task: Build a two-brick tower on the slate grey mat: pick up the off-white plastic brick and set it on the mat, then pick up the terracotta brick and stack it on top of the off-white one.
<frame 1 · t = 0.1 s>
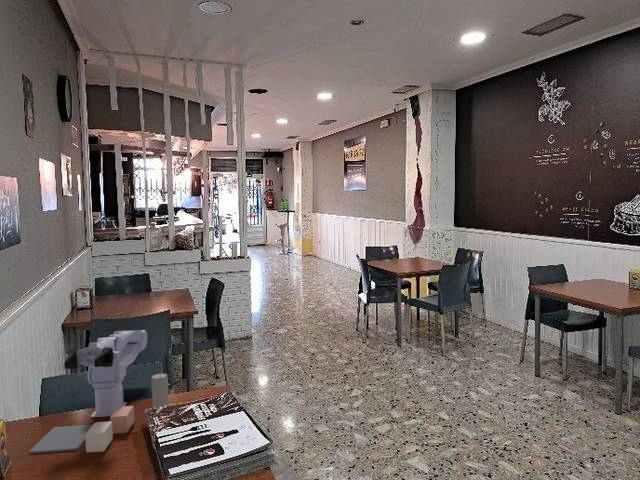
hand: (80, 364, 126), 22 cm above the table, tool horizontal, fingers open, 7 cm apart
base mat: (65, 439, 129), on the table
white brick: (100, 445, 125), on the table
beverage can: (161, 414, 144), on the table
terracotta brick: (123, 427, 135), on the table
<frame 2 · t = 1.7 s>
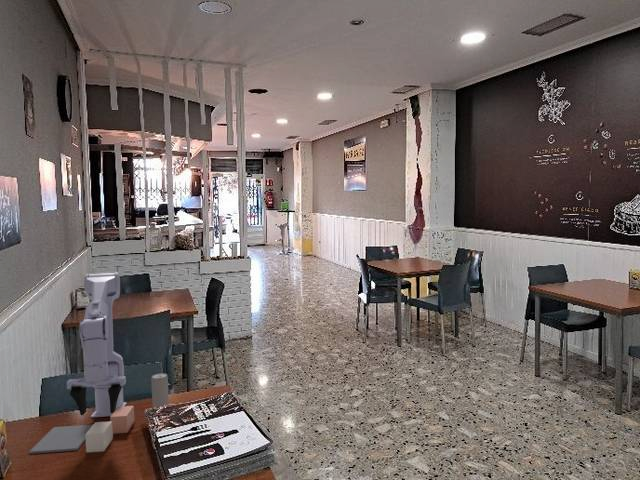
hand: (98, 412, 124), 9 cm above the table, tool pointing down, fingers open, 7 cm apart
nothing on the table moved.
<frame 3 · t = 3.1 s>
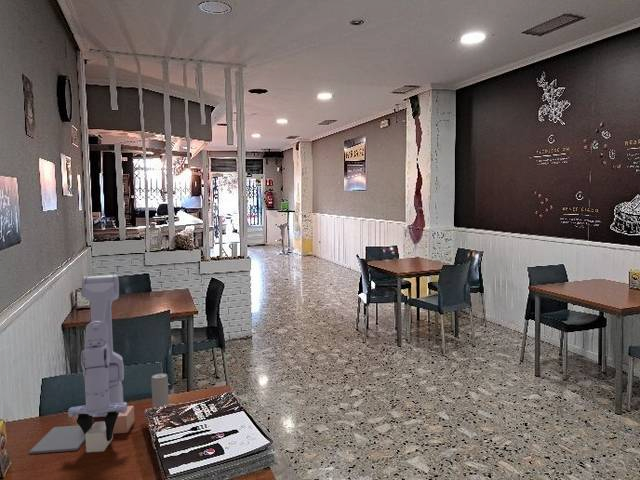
hand: (99, 440, 125), 1 cm above the table, tool pointing down, fingers closed on white brick, 4 cm apart
white brick: (100, 445, 125), on the table, touching gripper
everything else where it was.
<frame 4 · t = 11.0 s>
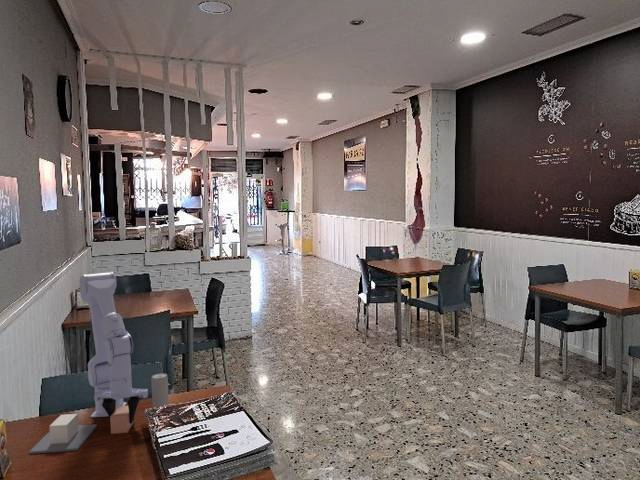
hand: (122, 422, 135), 1 cm above the table, tool pointing down, fingers closed on terracotta brick, 4 cm apart
white brick: (64, 437, 128), point 1 cm above the table, touching base mat
terracotta brick: (123, 427, 135), on the table, touching gripper
everything else where it was.
when the fingers open (8 cm above the table, at t = 15.5 s): terracotta brick stays where it is, resting on white brick.
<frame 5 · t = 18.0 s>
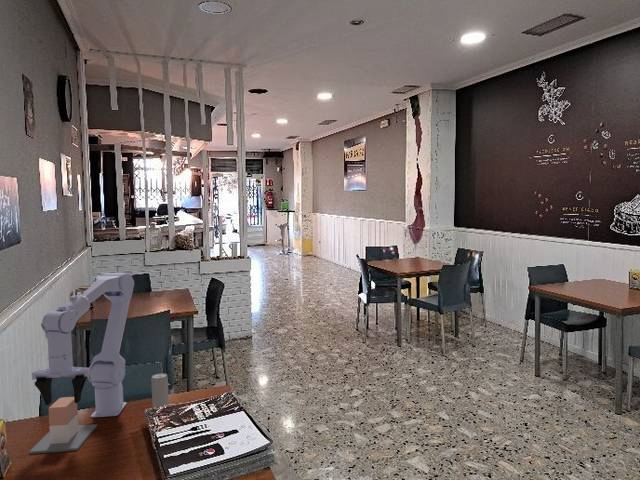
hand: (63, 402, 128), 10 cm above the table, tool pointing down, fingers open, 7 cm apart
white brick: (64, 437, 128), point 1 cm above the table, touching base mat, terracotta brick
terracotta brick: (63, 419, 128), point 6 cm above the table, touching white brick
everything else where it was.
at the end: white brick 0.0 cm off-centre on the base mat, point 0.6 cm above the base mat's base; terracotta brick 0.0 cm off-centre on the white brick, point 5.0 cm above the white brick's base; terracotta brick tilted 0° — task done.
